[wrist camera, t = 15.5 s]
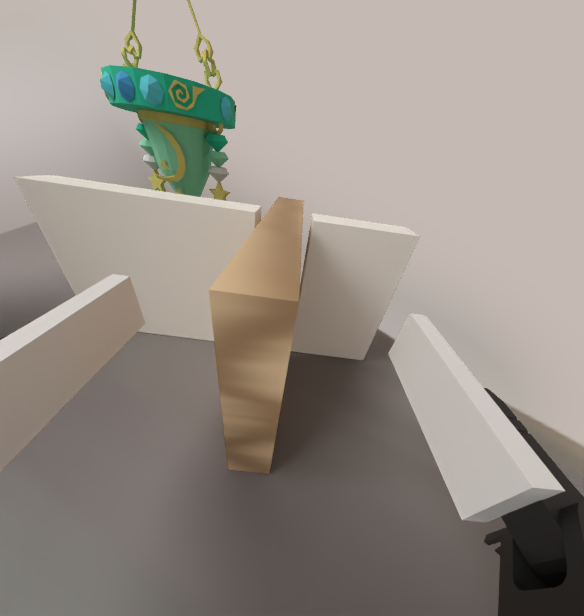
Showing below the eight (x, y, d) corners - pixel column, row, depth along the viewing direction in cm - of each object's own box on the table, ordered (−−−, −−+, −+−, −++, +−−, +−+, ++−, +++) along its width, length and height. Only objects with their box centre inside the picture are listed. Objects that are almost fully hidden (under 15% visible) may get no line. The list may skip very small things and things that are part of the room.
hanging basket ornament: (130, 289, 26) (-88, -347, 9) (193, 259, 34) (143, -87, 18) (210, 315, 24) (127, -451, 7) (255, 276, 32) (267, -98, 15)
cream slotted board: (90, 325, 20) (13, 176, 13) (109, 310, 22) (51, 175, 15) (363, 360, 21) (420, 236, 14) (358, 343, 23) (406, 227, 16)
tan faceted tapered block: (228, 469, 12) (208, 289, 6) (270, 301, 27) (278, 197, 21) (269, 474, 12) (299, 301, 6) (288, 304, 27) (303, 200, 21)
